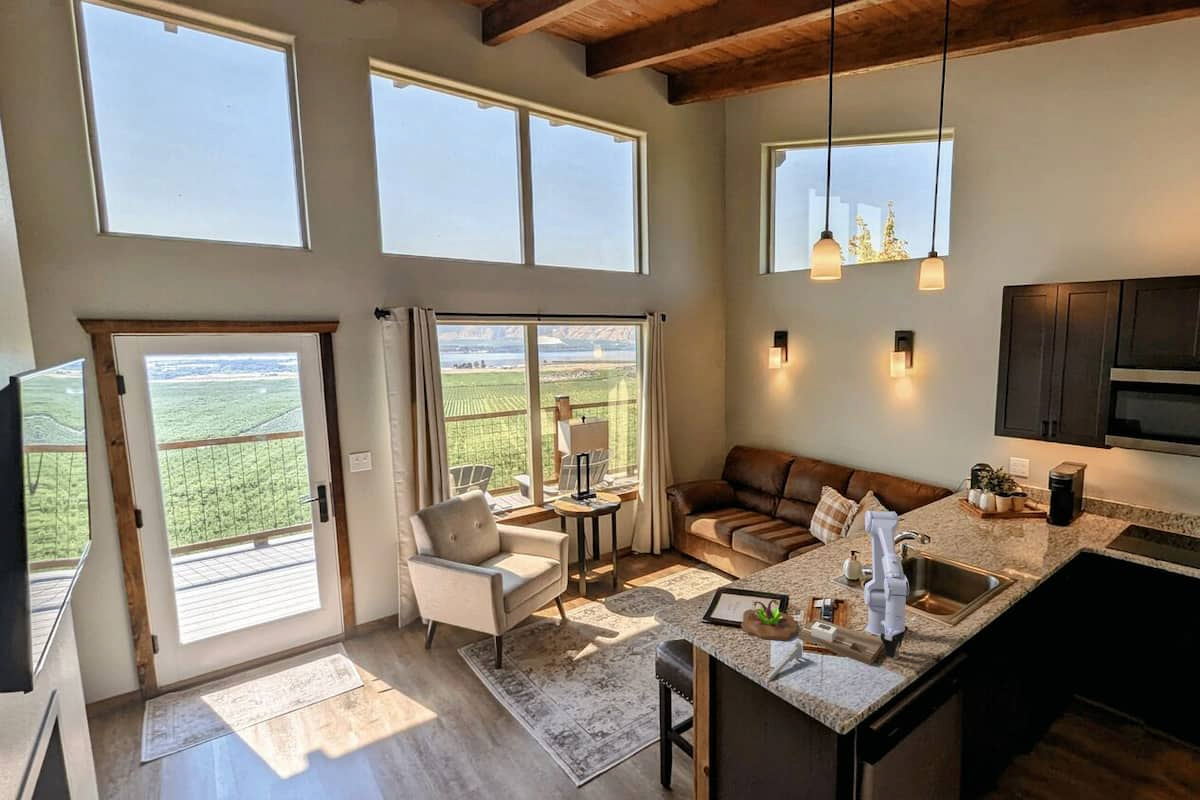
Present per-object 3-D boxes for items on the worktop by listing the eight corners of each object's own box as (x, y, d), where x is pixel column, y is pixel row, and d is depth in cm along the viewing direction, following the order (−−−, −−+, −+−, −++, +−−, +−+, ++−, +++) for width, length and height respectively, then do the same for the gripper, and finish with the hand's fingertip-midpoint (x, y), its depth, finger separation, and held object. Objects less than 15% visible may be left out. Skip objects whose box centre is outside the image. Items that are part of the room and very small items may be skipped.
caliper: (799, 657, 189) (799, 639, 188) (802, 658, 188) (802, 640, 187) (764, 682, 175) (764, 663, 175) (767, 683, 175) (767, 664, 174)
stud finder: (816, 629, 201) (816, 620, 201) (836, 636, 197) (836, 626, 196) (811, 635, 198) (811, 626, 197) (831, 642, 193) (832, 632, 193)
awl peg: (889, 653, 190) (890, 636, 190) (899, 656, 188) (900, 639, 187) (886, 657, 188) (887, 640, 187) (897, 661, 186) (897, 643, 185)
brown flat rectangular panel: (814, 623, 210) (814, 617, 210) (884, 647, 194) (884, 640, 193) (798, 639, 200) (798, 632, 199) (870, 665, 183) (870, 658, 183)
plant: (796, 647, 196) (797, 617, 194) (738, 638, 203) (739, 608, 201) (798, 619, 214) (798, 591, 213) (745, 611, 221) (745, 584, 220)
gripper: (888, 600, 194) (886, 638, 196) (875, 617, 183) (873, 656, 185) (911, 607, 189) (909, 645, 191) (899, 624, 179) (897, 664, 180)
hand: (893, 651), depth 188 cm, fingers open, 7 cm apart
